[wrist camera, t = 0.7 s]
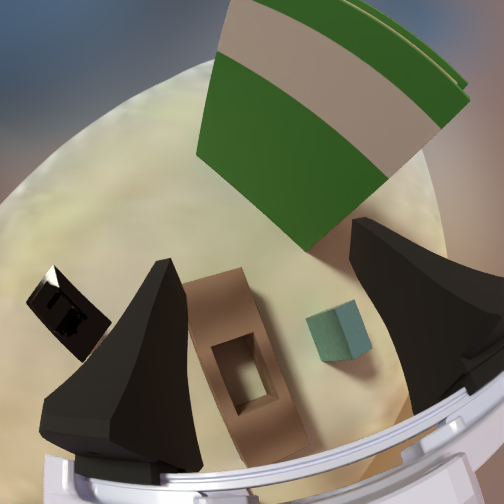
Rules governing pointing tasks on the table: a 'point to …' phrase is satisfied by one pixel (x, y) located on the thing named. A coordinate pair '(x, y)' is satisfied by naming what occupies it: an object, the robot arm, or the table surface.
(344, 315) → the teal rectangular block
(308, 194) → the hardback book
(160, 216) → the table surface
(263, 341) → the slotted beam
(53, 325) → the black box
